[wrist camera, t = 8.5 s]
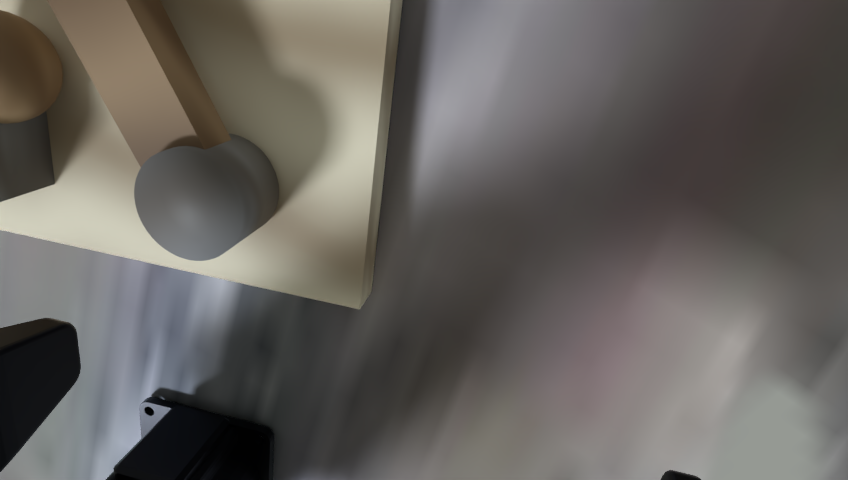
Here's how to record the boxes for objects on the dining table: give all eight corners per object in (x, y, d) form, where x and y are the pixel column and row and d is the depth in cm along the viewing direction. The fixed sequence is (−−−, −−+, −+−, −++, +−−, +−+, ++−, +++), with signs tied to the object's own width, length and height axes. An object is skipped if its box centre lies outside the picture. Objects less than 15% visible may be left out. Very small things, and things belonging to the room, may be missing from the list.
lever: (296, 213, 20) (86, 372, 11) (215, 244, 21) (-35, 411, 12) (34, -312, 16) (-639, -745, 7) (-48, -238, 17) (-720, -528, 8)
